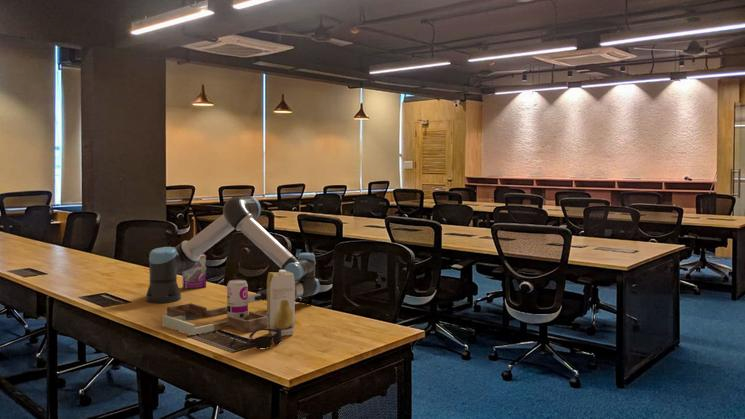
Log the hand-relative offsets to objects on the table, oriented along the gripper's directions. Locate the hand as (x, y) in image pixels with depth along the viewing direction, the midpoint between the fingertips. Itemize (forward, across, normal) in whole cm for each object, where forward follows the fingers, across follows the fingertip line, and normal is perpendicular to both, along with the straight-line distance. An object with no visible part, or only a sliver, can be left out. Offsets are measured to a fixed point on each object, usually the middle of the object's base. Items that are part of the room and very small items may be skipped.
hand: (247, 299), depth 248 cm
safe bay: (+27, +1, -7) cm, 28 cm away
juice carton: (+8, -30, -7) cm, 32 cm away
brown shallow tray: (+10, +1, -7) cm, 12 cm away
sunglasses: (+21, -33, -8) cm, 39 cm away
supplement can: (+4, +1, -7) cm, 8 cm away
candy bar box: (-18, +65, -7) cm, 68 cm away
